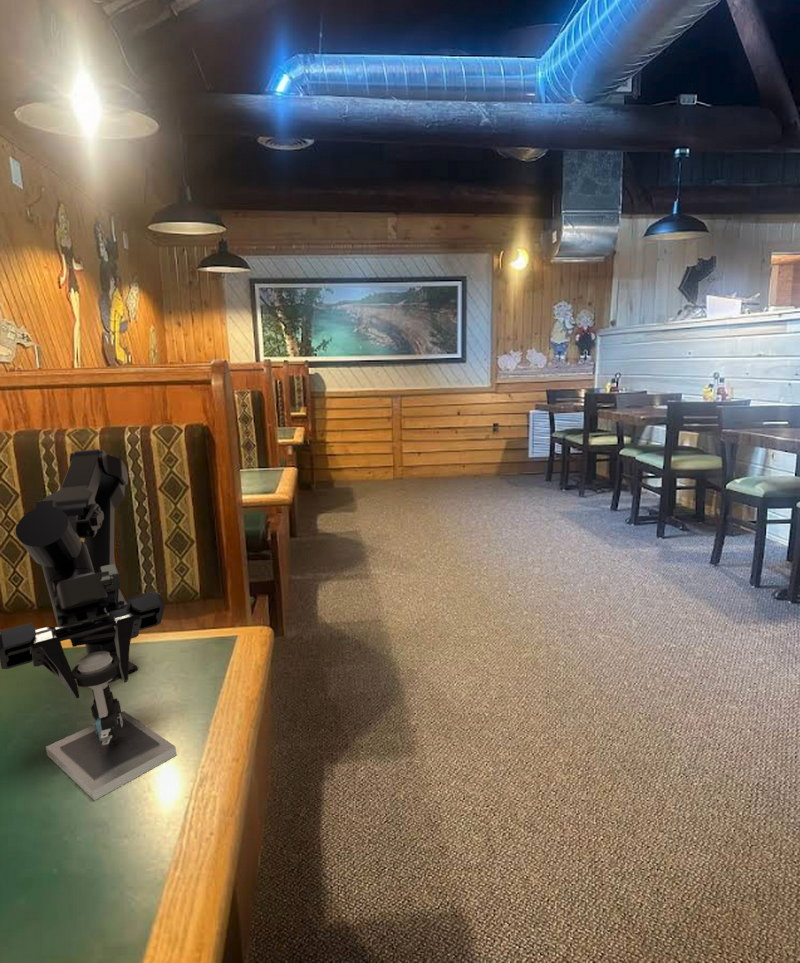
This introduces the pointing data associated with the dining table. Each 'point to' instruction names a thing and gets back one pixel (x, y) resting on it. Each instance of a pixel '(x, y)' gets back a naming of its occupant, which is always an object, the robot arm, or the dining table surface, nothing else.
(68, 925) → the dining table surface
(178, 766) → the dining table surface
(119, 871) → the dining table surface
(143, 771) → the mounting plate
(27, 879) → the dining table surface
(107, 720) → the push button
